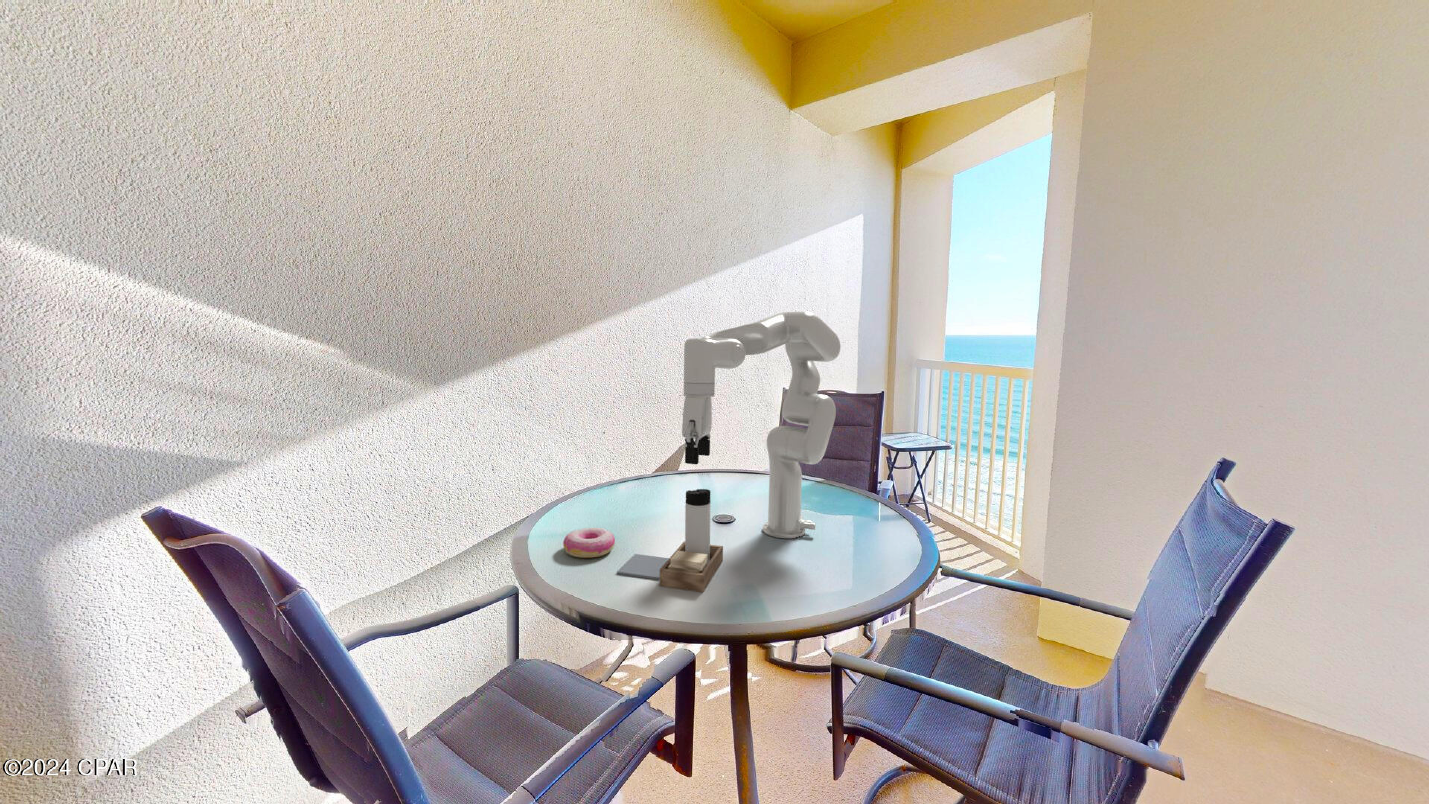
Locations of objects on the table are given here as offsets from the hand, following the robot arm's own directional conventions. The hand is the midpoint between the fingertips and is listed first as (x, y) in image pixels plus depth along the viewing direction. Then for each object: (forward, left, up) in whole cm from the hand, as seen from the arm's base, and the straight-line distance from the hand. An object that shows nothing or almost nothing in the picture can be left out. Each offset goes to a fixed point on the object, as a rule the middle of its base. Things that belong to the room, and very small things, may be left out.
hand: (697, 459), depth 131 cm
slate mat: (+12, +4, -28) cm, 30 cm away
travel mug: (0, 0, -28) cm, 28 cm away
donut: (+30, -1, -28) cm, 41 cm away
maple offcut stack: (0, +8, -28) cm, 29 cm away
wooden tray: (0, +4, -28) cm, 28 cm away
